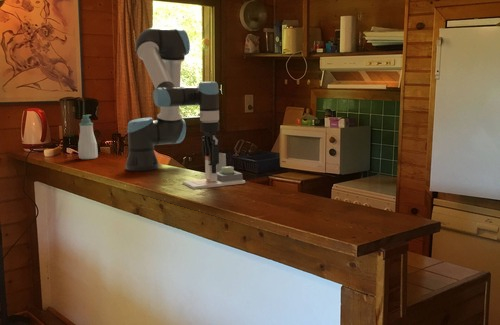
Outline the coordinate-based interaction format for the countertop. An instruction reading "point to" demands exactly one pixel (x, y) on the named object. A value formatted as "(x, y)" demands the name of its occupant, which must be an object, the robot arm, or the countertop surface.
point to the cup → (221, 161)
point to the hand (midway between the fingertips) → (211, 180)
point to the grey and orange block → (207, 168)
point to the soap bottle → (87, 140)
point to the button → (227, 170)
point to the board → (221, 181)
